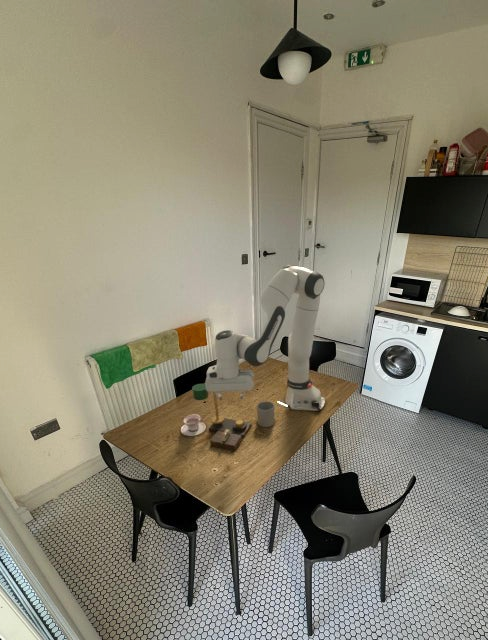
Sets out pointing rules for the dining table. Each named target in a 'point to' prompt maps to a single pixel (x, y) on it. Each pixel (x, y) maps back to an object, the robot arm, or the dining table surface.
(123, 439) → the dining table surface
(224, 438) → the dimmer knob
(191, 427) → the teacup
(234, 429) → the lamp base
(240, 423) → the lamp switch
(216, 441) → the dimmer
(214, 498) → the dining table surface
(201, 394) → the desk lamp
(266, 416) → the cup
